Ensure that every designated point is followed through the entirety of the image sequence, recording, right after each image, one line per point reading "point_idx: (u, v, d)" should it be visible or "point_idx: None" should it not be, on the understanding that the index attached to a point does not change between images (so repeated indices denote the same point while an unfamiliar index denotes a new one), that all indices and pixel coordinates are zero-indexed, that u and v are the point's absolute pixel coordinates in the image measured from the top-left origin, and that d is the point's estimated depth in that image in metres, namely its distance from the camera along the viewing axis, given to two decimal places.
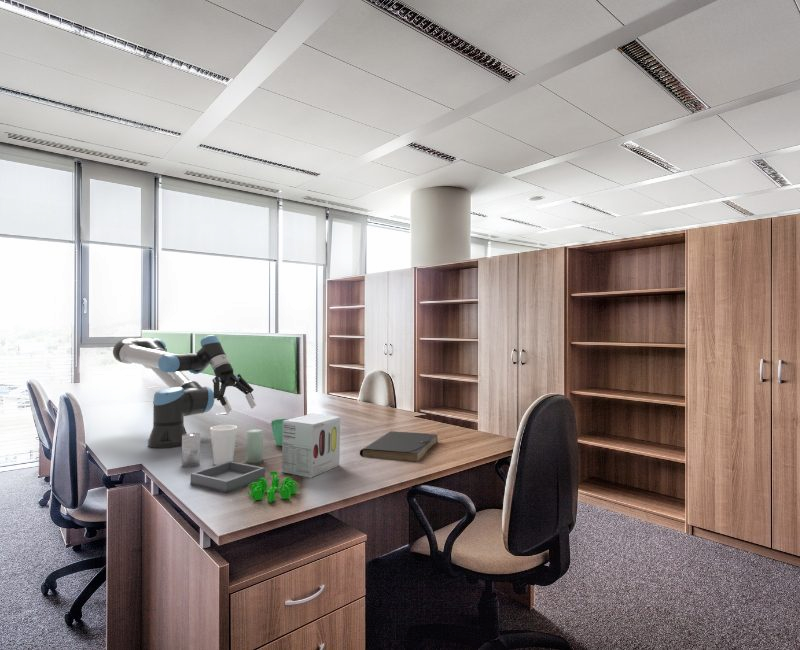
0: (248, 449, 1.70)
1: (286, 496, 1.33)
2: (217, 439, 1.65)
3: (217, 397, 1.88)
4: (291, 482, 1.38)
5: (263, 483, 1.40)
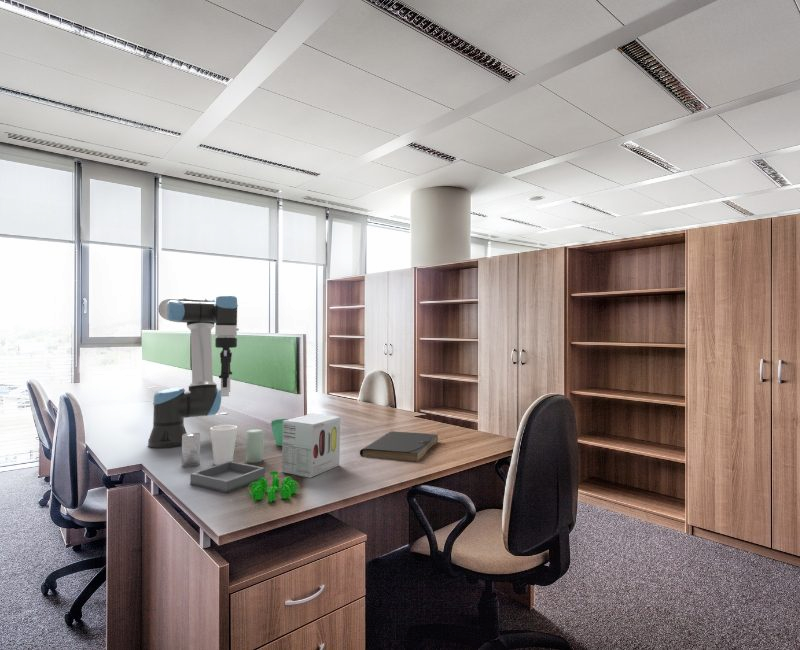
0: (248, 449, 1.70)
1: (286, 496, 1.34)
2: (217, 439, 1.65)
3: (224, 377, 1.62)
4: (291, 482, 1.38)
5: (263, 483, 1.40)
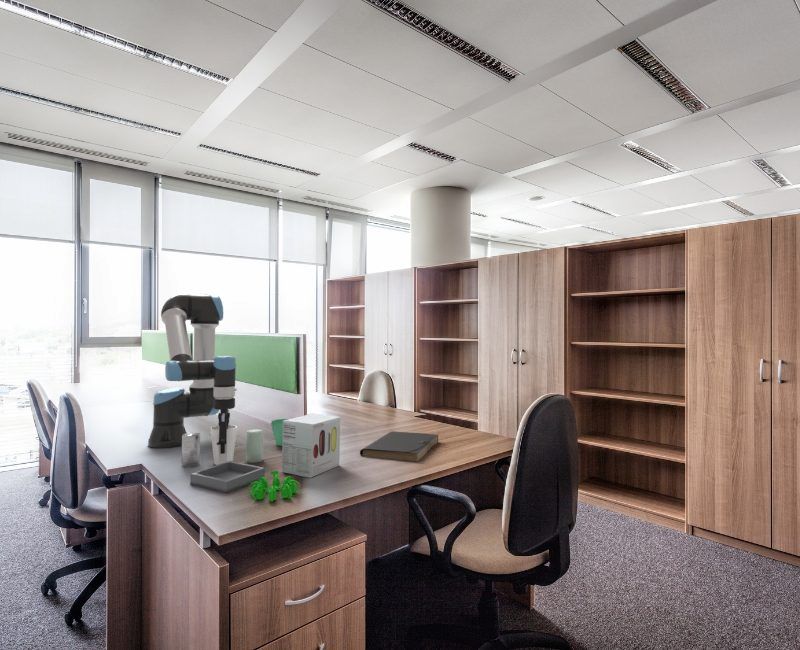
0: (248, 449, 1.70)
1: (287, 495, 1.34)
2: (217, 439, 1.65)
3: (222, 443, 1.62)
4: (292, 481, 1.38)
5: (264, 483, 1.40)
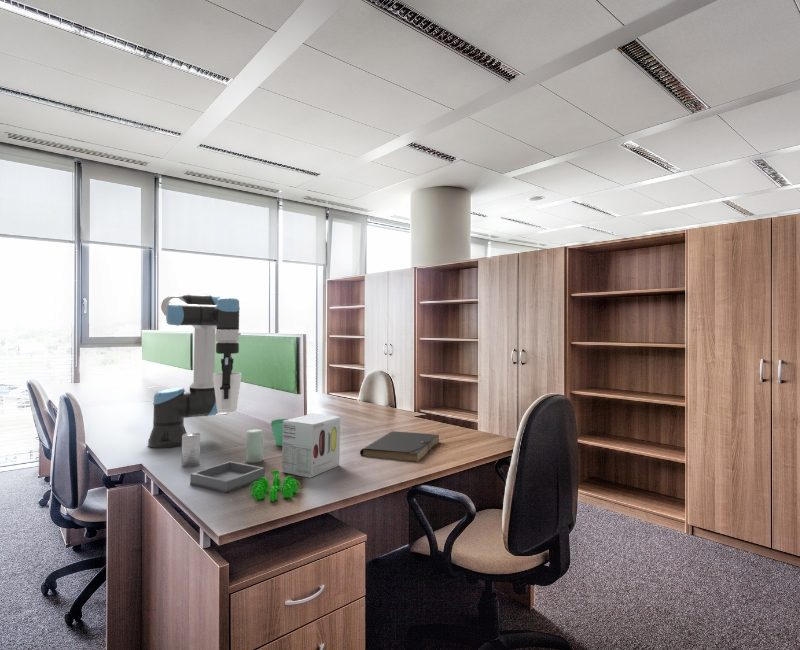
0: (248, 449, 1.70)
1: (288, 495, 1.34)
2: (220, 384, 1.56)
3: (225, 388, 1.53)
4: (293, 481, 1.39)
5: (264, 482, 1.41)
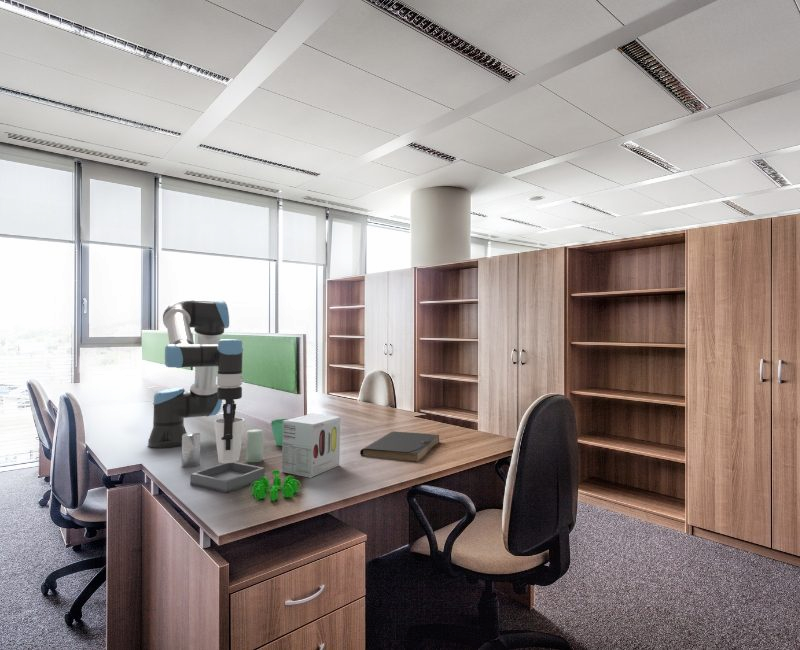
0: (248, 449, 1.70)
1: (289, 495, 1.35)
2: (222, 433, 1.45)
3: (227, 438, 1.42)
4: (293, 481, 1.39)
5: (265, 482, 1.41)
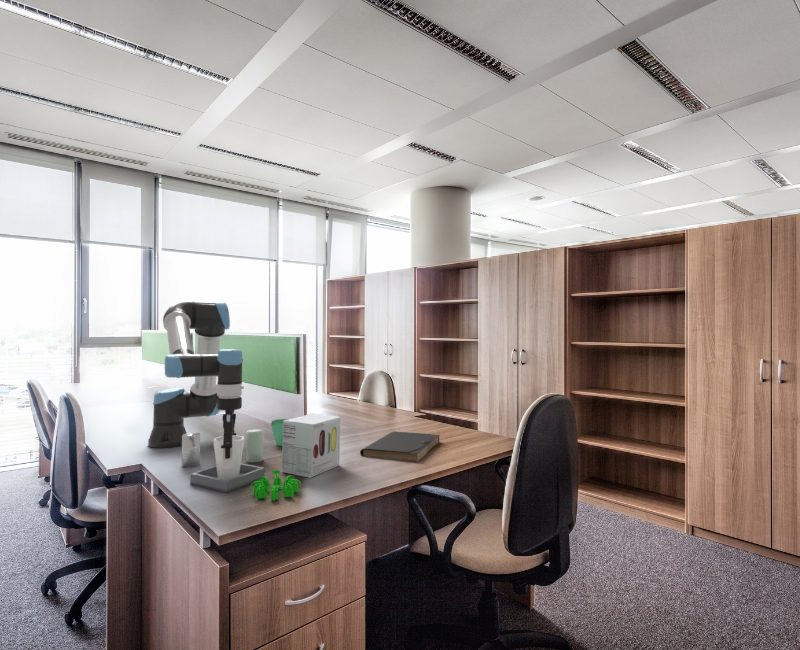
0: (248, 449, 1.70)
1: (289, 494, 1.35)
2: (222, 452, 1.45)
3: (227, 447, 1.40)
4: (293, 480, 1.39)
5: (265, 482, 1.41)
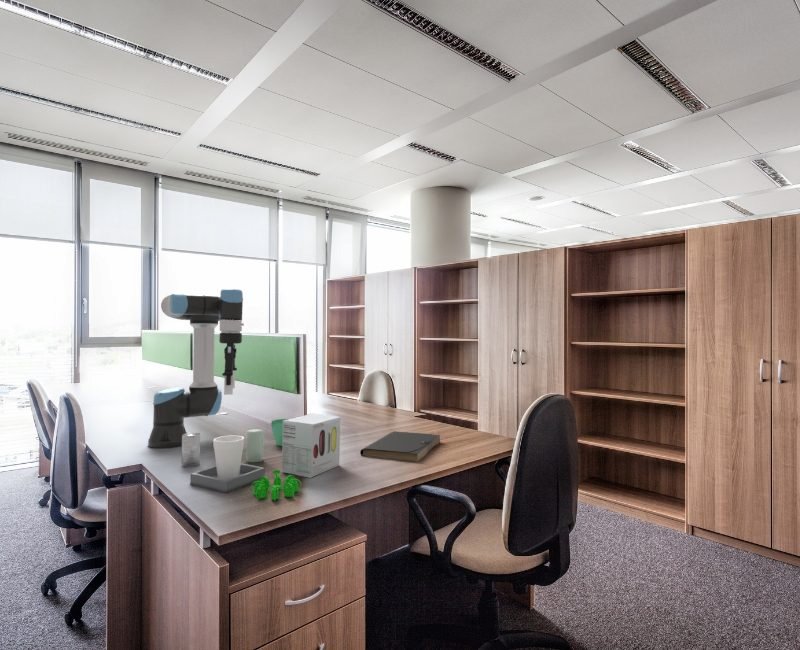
0: (248, 449, 1.70)
1: (290, 494, 1.35)
2: (221, 452, 1.45)
3: (228, 374, 1.55)
4: (294, 480, 1.40)
5: (265, 482, 1.41)
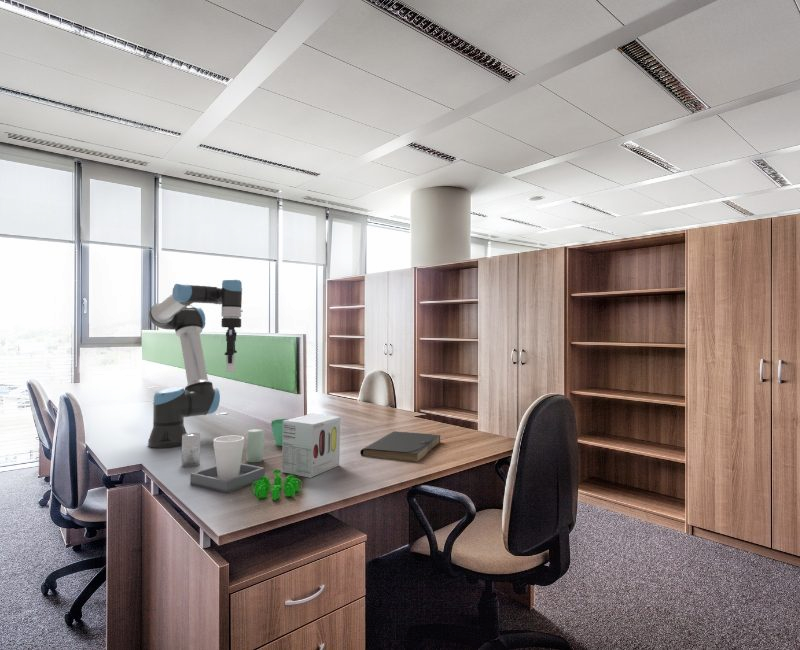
0: (248, 449, 1.70)
1: (290, 494, 1.35)
2: (221, 452, 1.45)
3: (229, 353, 1.76)
4: (294, 480, 1.40)
5: (266, 482, 1.41)
